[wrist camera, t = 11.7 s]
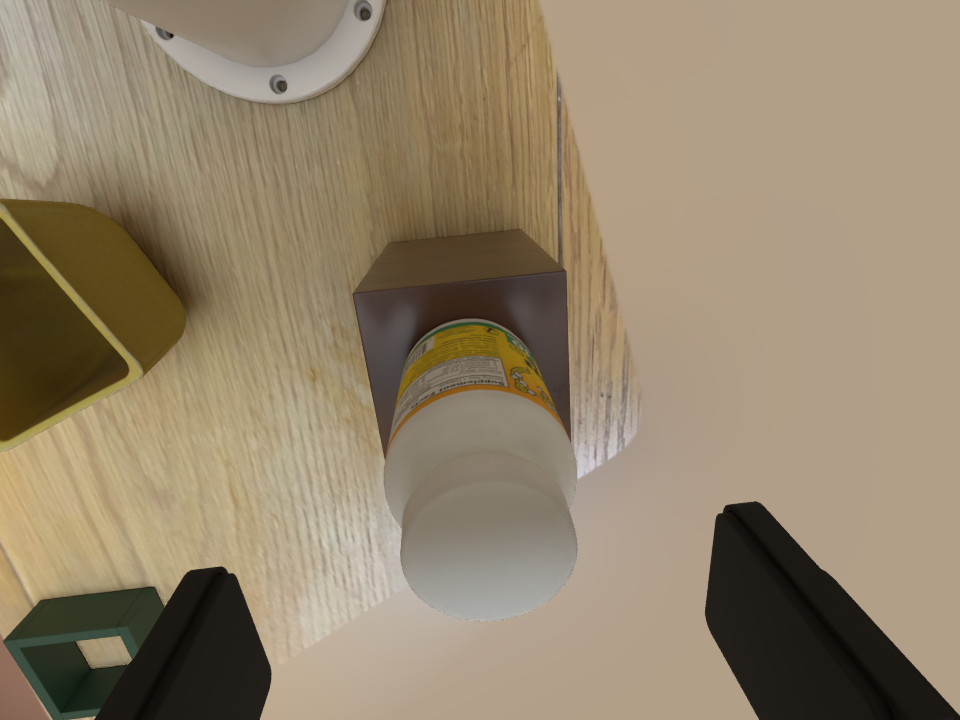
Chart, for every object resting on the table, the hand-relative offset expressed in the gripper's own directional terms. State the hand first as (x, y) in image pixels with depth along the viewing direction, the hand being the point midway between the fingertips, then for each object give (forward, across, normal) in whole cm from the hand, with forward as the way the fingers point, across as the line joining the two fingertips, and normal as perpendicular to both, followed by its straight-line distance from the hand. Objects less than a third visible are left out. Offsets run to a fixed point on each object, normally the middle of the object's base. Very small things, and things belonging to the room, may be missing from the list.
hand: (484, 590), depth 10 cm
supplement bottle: (+11, 0, 0) cm, 11 cm away
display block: (+23, 0, +1) cm, 23 cm away
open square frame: (+23, +30, +25) cm, 45 cm away
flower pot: (+23, +20, -2) cm, 31 cm away
